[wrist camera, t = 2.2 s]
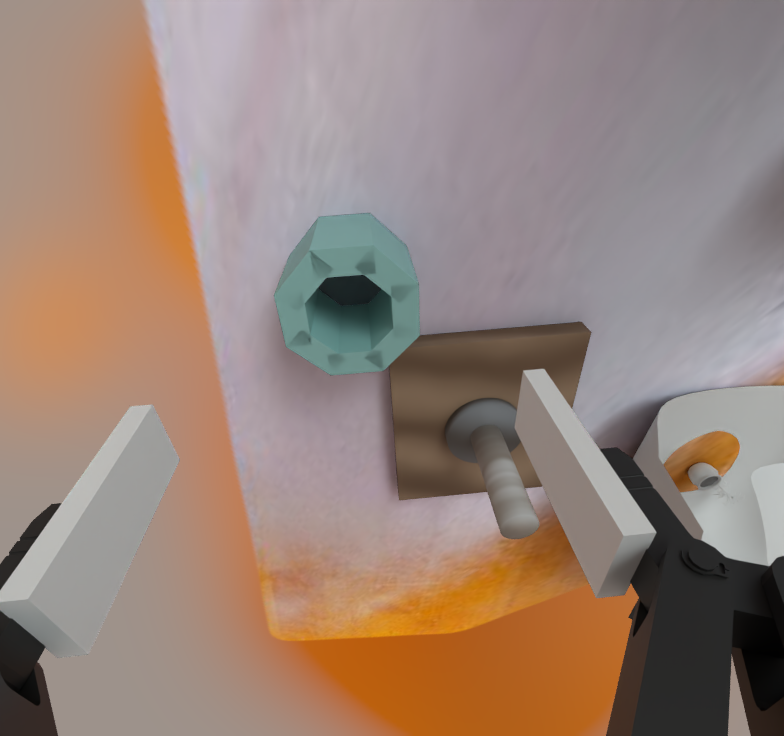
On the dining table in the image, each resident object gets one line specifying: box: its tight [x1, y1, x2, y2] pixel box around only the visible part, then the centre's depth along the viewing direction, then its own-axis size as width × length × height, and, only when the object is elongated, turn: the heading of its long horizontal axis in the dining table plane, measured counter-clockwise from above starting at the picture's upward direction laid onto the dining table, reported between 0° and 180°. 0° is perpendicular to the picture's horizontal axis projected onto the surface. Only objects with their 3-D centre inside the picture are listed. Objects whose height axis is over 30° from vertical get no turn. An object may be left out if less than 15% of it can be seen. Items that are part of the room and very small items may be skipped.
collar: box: [274, 213, 420, 375], centre depth 24 cm, size 7×7×6 cm
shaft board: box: [389, 322, 591, 539], centre depth 29 cm, size 16×14×10 cm
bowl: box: [633, 386, 784, 566], centre depth 35 cm, size 20×19×12 cm
